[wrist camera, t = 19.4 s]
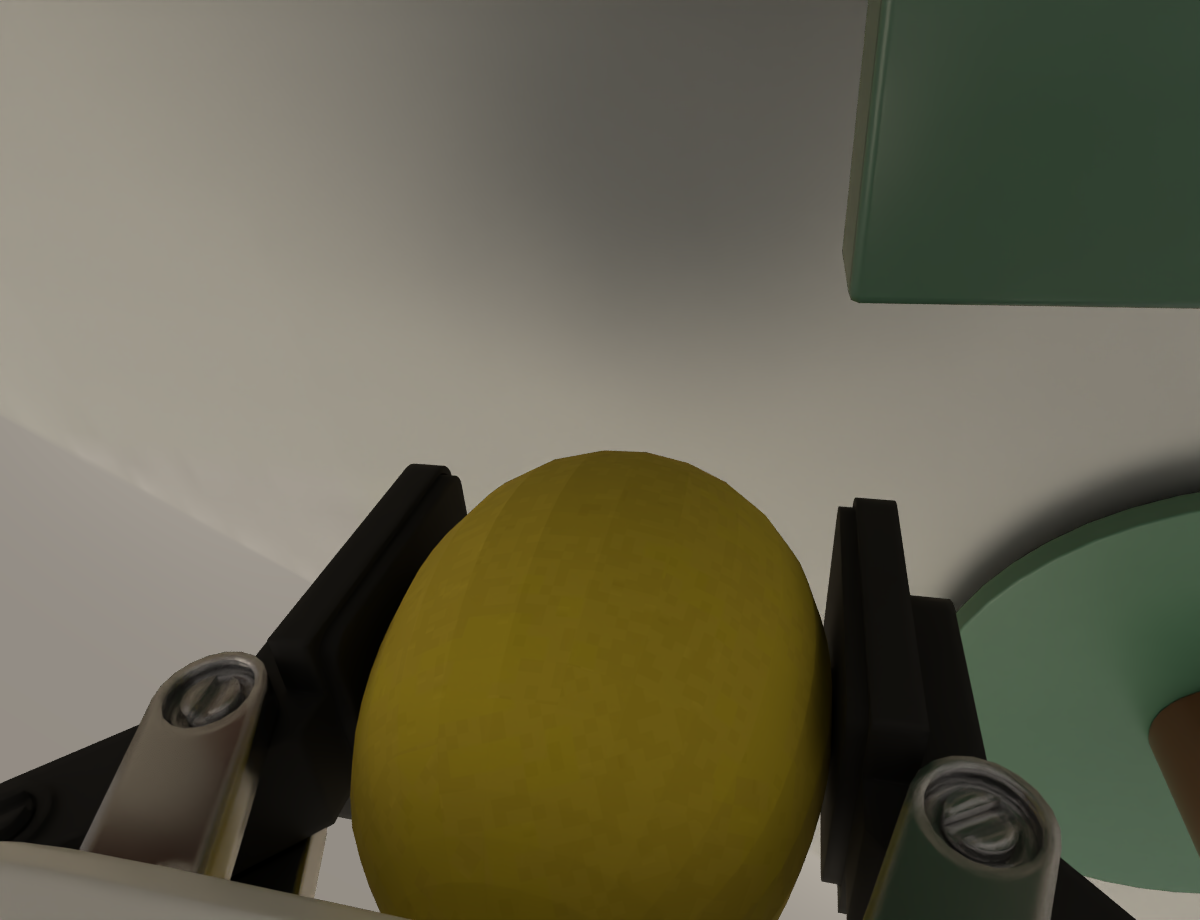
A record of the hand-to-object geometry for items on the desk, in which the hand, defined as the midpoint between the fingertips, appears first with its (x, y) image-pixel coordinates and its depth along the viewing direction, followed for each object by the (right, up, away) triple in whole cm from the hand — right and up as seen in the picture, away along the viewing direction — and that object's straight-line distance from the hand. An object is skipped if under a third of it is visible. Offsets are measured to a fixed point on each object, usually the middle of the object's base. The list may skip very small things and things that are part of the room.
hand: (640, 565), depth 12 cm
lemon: (0, +1, +1) cm, 2 cm away
